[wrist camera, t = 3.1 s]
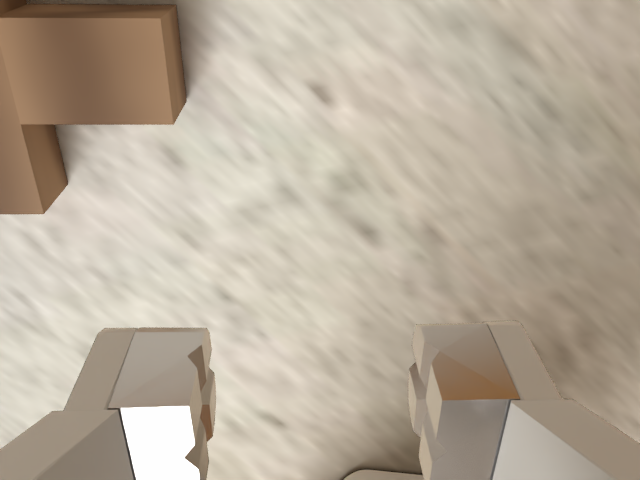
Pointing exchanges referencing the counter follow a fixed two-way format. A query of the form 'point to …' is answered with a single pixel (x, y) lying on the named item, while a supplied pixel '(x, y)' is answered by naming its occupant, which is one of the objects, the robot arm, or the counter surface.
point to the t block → (78, 84)
